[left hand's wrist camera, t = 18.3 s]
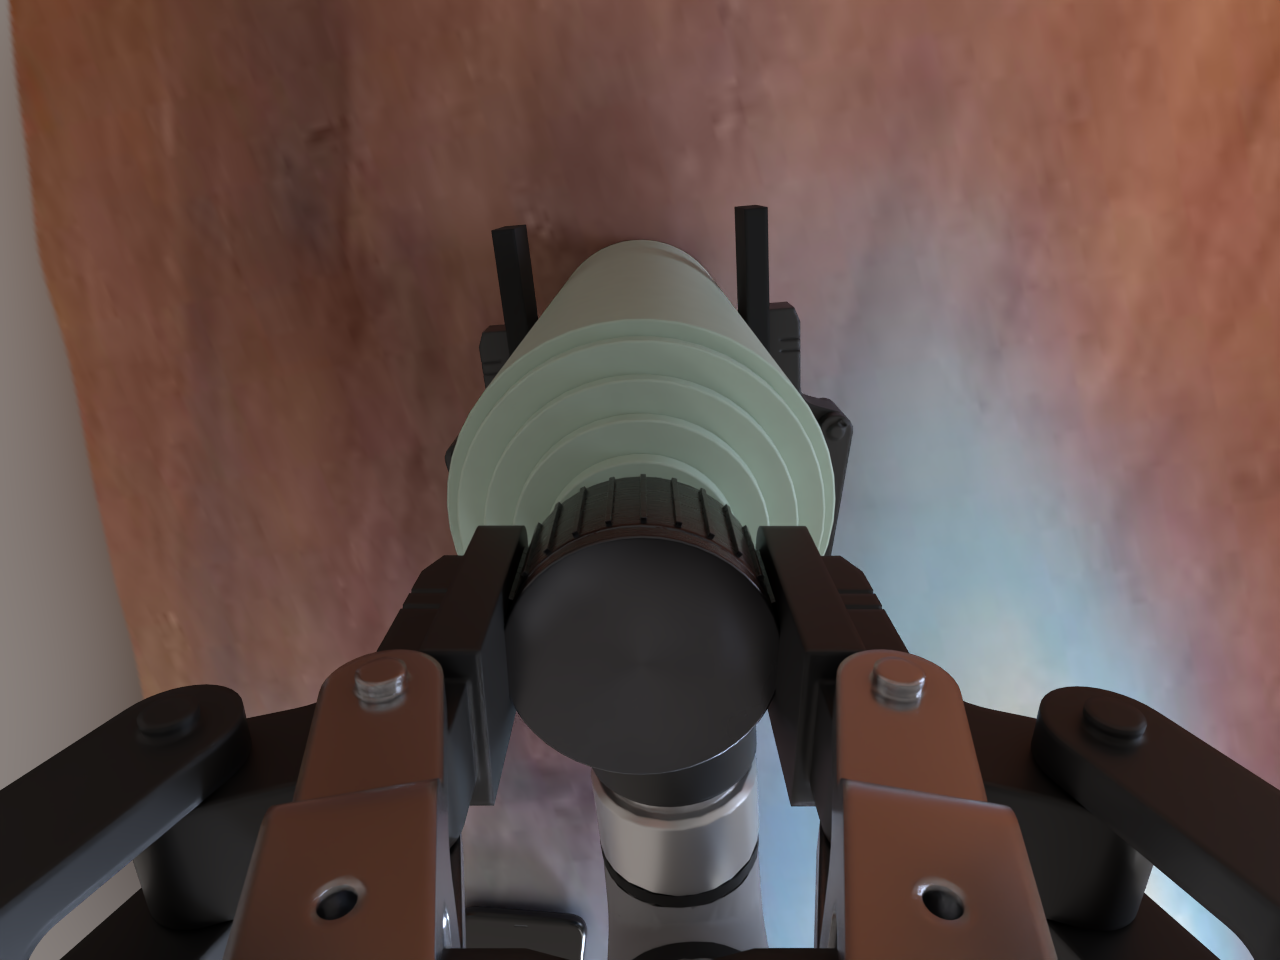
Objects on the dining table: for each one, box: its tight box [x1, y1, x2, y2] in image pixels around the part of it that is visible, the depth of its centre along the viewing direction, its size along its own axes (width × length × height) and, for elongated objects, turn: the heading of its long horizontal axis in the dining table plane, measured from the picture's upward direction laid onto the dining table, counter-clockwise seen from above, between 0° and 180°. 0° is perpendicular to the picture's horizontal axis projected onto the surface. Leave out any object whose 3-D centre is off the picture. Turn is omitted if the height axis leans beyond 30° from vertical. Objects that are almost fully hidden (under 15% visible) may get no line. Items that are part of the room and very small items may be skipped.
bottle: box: [447, 240, 835, 556], centre depth 22 cm, size 8×8×24 cm
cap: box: [504, 474, 780, 775], centre depth 11 cm, size 4×4×2 cm
